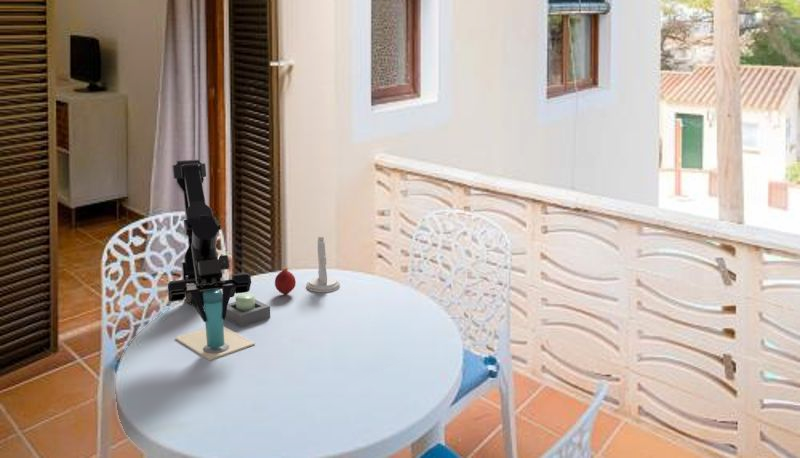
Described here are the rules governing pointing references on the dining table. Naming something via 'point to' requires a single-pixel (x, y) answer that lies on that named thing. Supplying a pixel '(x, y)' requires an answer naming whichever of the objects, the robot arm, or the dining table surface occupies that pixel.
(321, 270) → the paper towel holder
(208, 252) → the robot arm
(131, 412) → the dining table surface
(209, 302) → the ball
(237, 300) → the button
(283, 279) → the onion
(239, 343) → the sheet
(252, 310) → the button housing
